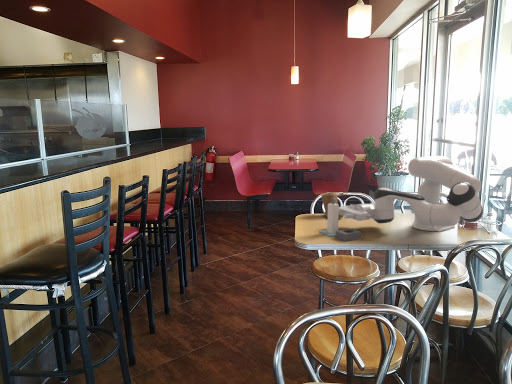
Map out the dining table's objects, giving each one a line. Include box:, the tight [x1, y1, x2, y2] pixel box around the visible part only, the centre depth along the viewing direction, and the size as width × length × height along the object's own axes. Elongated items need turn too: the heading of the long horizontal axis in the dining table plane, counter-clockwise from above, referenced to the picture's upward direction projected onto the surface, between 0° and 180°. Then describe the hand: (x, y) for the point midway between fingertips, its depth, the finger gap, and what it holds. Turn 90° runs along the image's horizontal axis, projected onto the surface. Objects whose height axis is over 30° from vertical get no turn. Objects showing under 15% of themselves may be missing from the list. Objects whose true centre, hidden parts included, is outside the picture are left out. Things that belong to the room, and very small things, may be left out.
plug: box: [326, 198, 340, 233], centre depth 212 cm, size 4×4×18 cm
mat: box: [318, 229, 336, 238], centre depth 214 cm, size 10×10×1 cm
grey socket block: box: [335, 228, 362, 242], centre depth 205 cm, size 10×8×4 cm
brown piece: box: [320, 191, 344, 220], centre depth 248 cm, size 15×12×15 cm
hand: (339, 214), depth 214 cm, fingers open, 8 cm apart
